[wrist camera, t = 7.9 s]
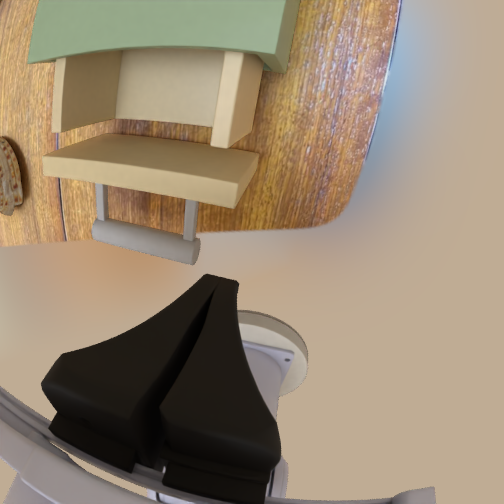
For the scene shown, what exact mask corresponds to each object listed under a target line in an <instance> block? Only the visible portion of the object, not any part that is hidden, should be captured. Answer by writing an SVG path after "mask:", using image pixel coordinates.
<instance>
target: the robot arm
mask: <svg viewBox="0 0 504 504" xmlns="http://www.w3.org/2000/svg"><path fill="white" fill-rule="evenodd" d="M238 287H239V283H238V282H237V281H235V280H231V279H226V278H223V277H218V276H214V275H210V274H205V275H203V276H202V277H201V279H199V280H198V281H197V282H196V283H195V284H194V285H193V286H192V287H191V288H189V290H187V291H186V292H185V293H184V294H182V295H181V296H180V297H179V298H177V299H176V300H175V301H174V302H172V303H171V304H170V305H169V306H167V307H166V308H164V309H163V310H161V311H160V312H159V313H157V314H156V315H154V316H153V317H151V318H150V319H148V320H146V321H145V322H143V323H141V324H140V325H138V326H136V327H134V328H132V329H130V330H128V331H126V332H125V333H122V334H120V335H118V336H116V337H114V338H111V339H109V340H106V341H103V342H101V343H98V344H95V345H92V346H89V347H86V348H83V349H79V350H75V351H71V352H67V353H63V354H62V355H61V356H60V357H59V358H58V359H57V360H56V362H55V363H54V365H53V366H52V367H51V369H50V370H49V372H48V373H47V375H46V376H45V378H44V379H43V381H42V382H41V386H42V390H43V392H44V394H45V395H46V397H47V398H48V400H49V401H50V403H51V404H52V405H53V407H54V408H55V410H56V411H57V413H56V415H55V417H54V419H53V420H52V422H51V421H50V420H48V419H47V418H45V417H43V416H42V415H40V414H39V413H37V412H35V411H34V410H33V409H31V408H30V407H28V406H27V405H25V404H24V403H22V402H21V401H20V400H18V399H16V398H15V397H14V396H13V395H11V394H10V393H9V392H7V391H6V390H5V389H3V388H2V387H1V386H0V458H1V459H2V460H3V461H5V462H6V463H7V464H8V465H9V466H10V467H12V468H13V469H14V470H15V471H17V472H18V473H17V475H16V477H15V479H14V481H13V483H12V485H11V487H10V489H9V491H8V494H7V496H6V498H5V500H4V502H3V504H436V500H435V488H434V487H427V488H422V489H415V490H409V491H406V492H402V493H399V494H397V495H395V496H394V497H393V498H383V499H372V500H371V499H370V500H351V501H321V500H318V501H317V500H300V499H286V498H285V495H286V489H287V481H288V463H287V462H286V461H285V460H284V459H283V457H282V456H281V442H280V436H279V431H278V427H277V422H276V416H277V409H278V400H279V392H280V387H281V385H282V383H283V381H284V379H285V377H286V374H287V372H288V370H289V368H290V366H291V363H292V361H293V359H294V352H293V351H291V350H286V349H281V348H276V347H271V346H266V345H262V344H257V343H253V342H248V341H244V340H242V339H241V334H240V329H239V322H238V313H237V293H238ZM287 358H289V359H287ZM49 441H50V442H52V443H53V444H55V445H57V446H58V447H60V448H62V449H63V450H65V451H67V452H68V453H70V454H72V455H74V456H76V457H78V458H79V459H81V460H83V461H85V462H87V463H89V464H91V465H93V466H95V467H97V468H99V469H101V470H104V471H105V472H108V473H110V474H112V475H114V476H117V477H119V478H121V479H124V480H126V481H129V482H131V483H134V484H136V485H139V486H141V487H144V488H146V489H147V497H144V496H142V495H139V494H137V493H134V492H132V491H129V490H127V489H125V488H122V487H120V486H117V485H115V484H113V483H111V482H108V481H106V480H104V479H102V478H100V477H98V476H96V475H93V474H91V473H89V472H87V471H86V470H85V469H83V468H82V467H80V466H79V465H78V464H76V463H75V462H74V461H73V460H72V459H71V458H70V457H69V456H68V454H66V453H65V452H63V451H62V450H60V449H59V448H57V447H56V446H55V445H53V444H52V443H50V442H49Z"/></svg>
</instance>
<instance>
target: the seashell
mask: <svg viewBox="0 0 504 504" xmlns="http://www.w3.org/2000/svg"><path fill="white" fill-rule="evenodd" d="M20 178H21V176H20V170H19V166H18V162H17V159H16V156H15V154H14V151H13V149H12V148H11V146H10V145H9V143H8V142H7V141H6V140H5V139H4V138H0V213H2V214H4V215H9V216H11V215H13V211H14V207H15V205H19V204H22V202H23V193H22V186H21V179H20Z"/></svg>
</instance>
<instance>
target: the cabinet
mask: <svg viewBox="0 0 504 504" xmlns="http://www.w3.org/2000/svg"><path fill="white" fill-rule="evenodd" d="M299 5H300V0H39V3H38V7H37V11H36V16H35V20H34V25H33V30H32V36H31V41H30V48H29V55H28V63H27V64H36V63H54V62H56V59H60V58H65V57H71V56H77V55H83V54H90V53H98V52H107V51H117V50H131V49H153V48H186V49H208V50H222V51H233V52H242V53H250V54H257V55H258V56H259V57H260V58H261V59H262V60H263V61H264V67H263V70H265V71H271V72H276V73H282V74H286V71H287V66H288V61H289V56H290V51H291V46H292V41H293V36H294V31H295V25H296V20H297V15H298V10H299Z"/></svg>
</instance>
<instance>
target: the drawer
mask: <svg viewBox="0 0 504 504" xmlns="http://www.w3.org/2000/svg"><path fill="white" fill-rule="evenodd" d="M263 67H264V61H263V60H262V59H261V58H260V57H259V56H258V55H257V54H250V53H242V52H233V51H222V50H208V49H186V48H153V49H131V50H117V51H107V52H98V53H90V54H83V55H77V56H71V57H65V58H60V59H56V66H55V75H54V86H53V101H52V133H61V132H65V131H68V130H72V129H75V128H79V127H82V126H86V125H90V124H94V123H98V122H102V121H106V120H111V119H134V120H148V121H160V122H171V123H180V124H189V125H197V126H204V127H212V134H211V141H210V145H208V144H201V143H194V142H187V141H180V140H172V139H163V138H155V137H145V136H134V135H123V134H109V133H106V134H103V135H100V136H96V137H93V138H90V139H87V140H84V141H81V142H78V143H75V144H72V145H70V146H67V147H64V148H61V149H59V150H56V151H53V152H51V153H48V154H46V155H43V156H42V162H43V175H45V176H52V177H59V178H66V179H72V180H79V181H85V182H92V183H95V186H96V207H97V218H96V220H95V221H94V223H93V226H92V237H93V239H94V240H96V241H100V242H104V243H107V244H111V245H115V246H119V247H122V248H127V249H130V250H134V251H138V252H142V253H146V254H150V255H153V256H158V257H161V258H166V259H170V260H174V261H177V262H181V263H186V264H190V265H194V264H195V263H196V261H197V258H198V255H199V251H200V239H199V238H195V237H196V227H197V216H198V206H199V202H203V203H208V204H213V205H217V206H222V207H227V208H232V209H234V208H235V207H236V205H237V203H238V201H239V200H240V198H241V196H242V194H243V193H244V191H245V189H246V187H247V186H248V184H249V182H250V181H251V179H252V177H253V175H254V174H255V172H256V170H257V165H258V159H259V154H258V153H253V152H248V151H243V150H237V149H232V148H229V147H231V146H232V145H233V144H235V143H236V142H237V141H239V140H240V139H242V138H243V137H244V136H246V135H247V134H249V133H251V132H252V126H253V120H254V115H255V109H256V104H257V98H258V93H259V88H260V82H261V77H262V72H263ZM108 185H110V186H116V187H122V188H128V189H134V190H139V191H145V192H150V193H156V194H161V195H167V196H172V197H177V198H182V199H186V204H185V218H184V233H183V235H182V234H177V233H173V232H168V231H164V230H159V229H155V228H151V227H146V226H142V225H137V224H133V223H128V222H124V221H119V220H115V219H110V218H108V217H109V211H108Z"/></svg>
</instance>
